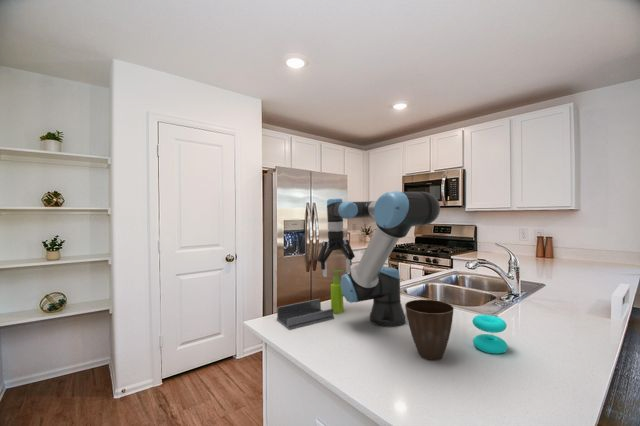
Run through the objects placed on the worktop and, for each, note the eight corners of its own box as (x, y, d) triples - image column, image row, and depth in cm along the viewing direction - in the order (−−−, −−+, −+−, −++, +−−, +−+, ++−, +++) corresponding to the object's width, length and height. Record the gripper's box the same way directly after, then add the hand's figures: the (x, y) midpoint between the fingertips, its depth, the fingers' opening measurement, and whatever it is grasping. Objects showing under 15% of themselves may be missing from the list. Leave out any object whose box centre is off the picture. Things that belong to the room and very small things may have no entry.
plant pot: (401, 344, 104) (400, 299, 104) (444, 344, 104) (442, 298, 104) (414, 366, 89) (412, 314, 89) (463, 366, 89) (461, 313, 89)
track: (334, 318, 132) (333, 305, 132) (289, 329, 121) (288, 315, 121) (318, 310, 145) (318, 298, 145) (276, 319, 134) (276, 306, 134)
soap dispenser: (345, 313, 138) (343, 271, 138) (330, 313, 140) (329, 271, 140) (346, 309, 144) (344, 269, 144) (332, 309, 146) (331, 269, 146)
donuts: (473, 322, 97) (471, 312, 106) (474, 352, 97) (472, 340, 106) (508, 325, 93) (503, 315, 102) (510, 357, 93) (504, 344, 102)
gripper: (351, 228, 152) (353, 269, 152) (309, 231, 139) (310, 276, 139) (360, 229, 145) (362, 272, 145) (316, 232, 133) (318, 279, 133)
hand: (337, 274), depth 142 cm, fingers open, 13 cm apart
